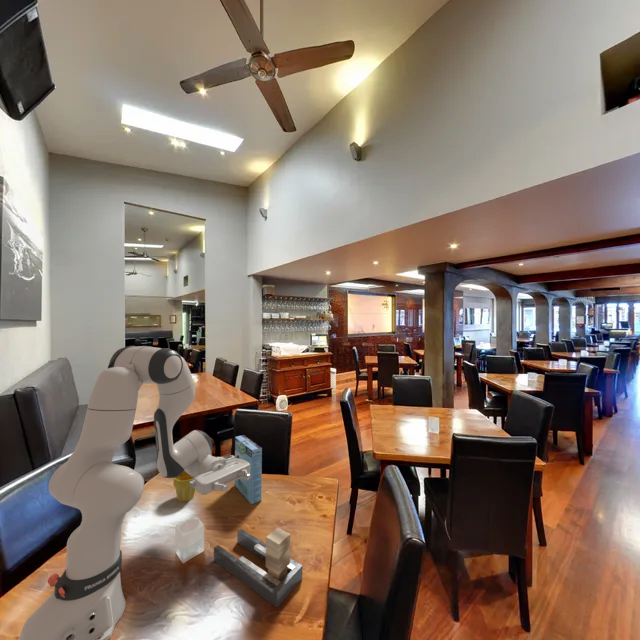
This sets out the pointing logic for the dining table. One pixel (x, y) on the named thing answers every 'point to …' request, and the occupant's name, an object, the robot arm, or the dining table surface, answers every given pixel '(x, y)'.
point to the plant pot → (184, 487)
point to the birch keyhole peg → (278, 553)
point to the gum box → (253, 455)
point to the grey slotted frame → (258, 570)
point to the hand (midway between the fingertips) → (238, 482)
